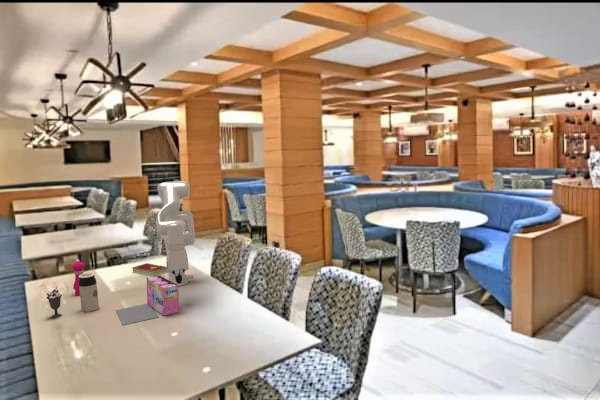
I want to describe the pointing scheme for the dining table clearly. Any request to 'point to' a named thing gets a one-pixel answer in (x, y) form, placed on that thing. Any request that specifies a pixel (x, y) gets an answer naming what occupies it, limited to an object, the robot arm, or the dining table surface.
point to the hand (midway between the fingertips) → (179, 282)
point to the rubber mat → (136, 314)
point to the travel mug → (88, 292)
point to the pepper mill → (77, 275)
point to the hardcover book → (149, 270)
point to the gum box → (163, 295)
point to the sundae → (54, 302)
